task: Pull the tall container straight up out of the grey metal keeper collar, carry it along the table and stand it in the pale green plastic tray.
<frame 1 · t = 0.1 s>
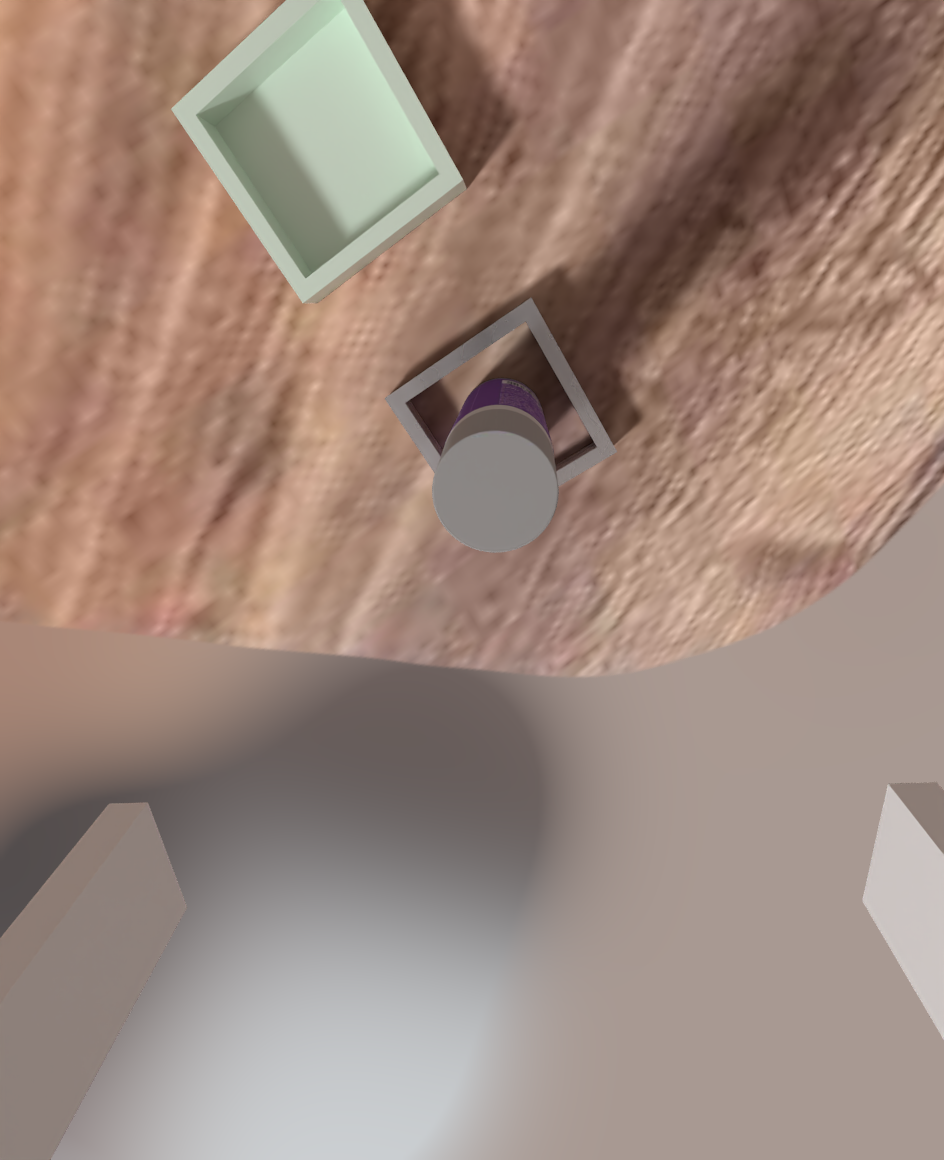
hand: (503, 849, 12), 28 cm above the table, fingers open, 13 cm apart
tray: (332, 156, 31), on the table
container: (502, 419, 36), resting in keeper collar
keeper collar: (501, 420, 36), on the table
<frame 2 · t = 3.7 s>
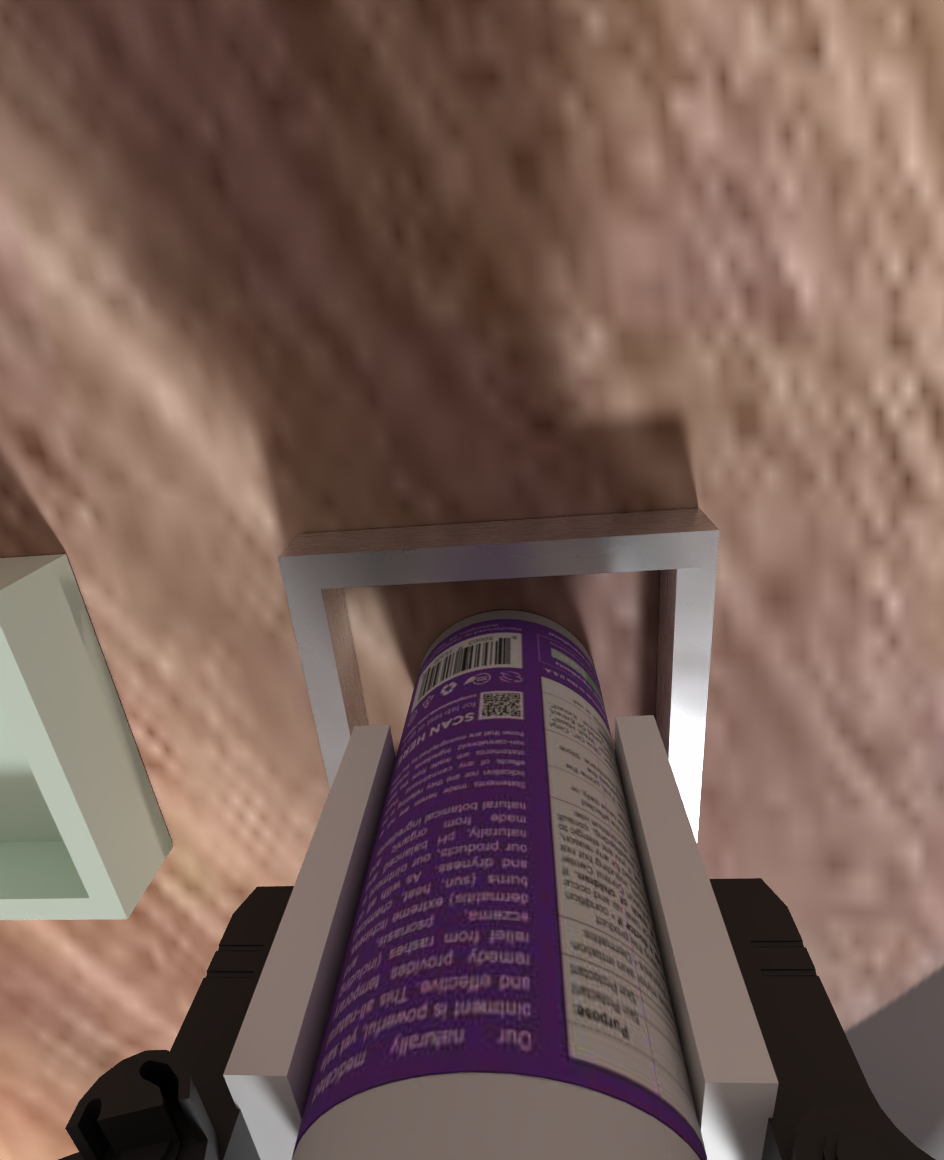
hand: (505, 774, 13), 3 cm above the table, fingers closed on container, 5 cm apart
container: (507, 685, 16), resting in keeper collar, touching gripper
keeper collar: (506, 690, 16), on the table
when the fingers open (5 cm above the table, at t = 9.9 s): container stays where it is, resting on tray.
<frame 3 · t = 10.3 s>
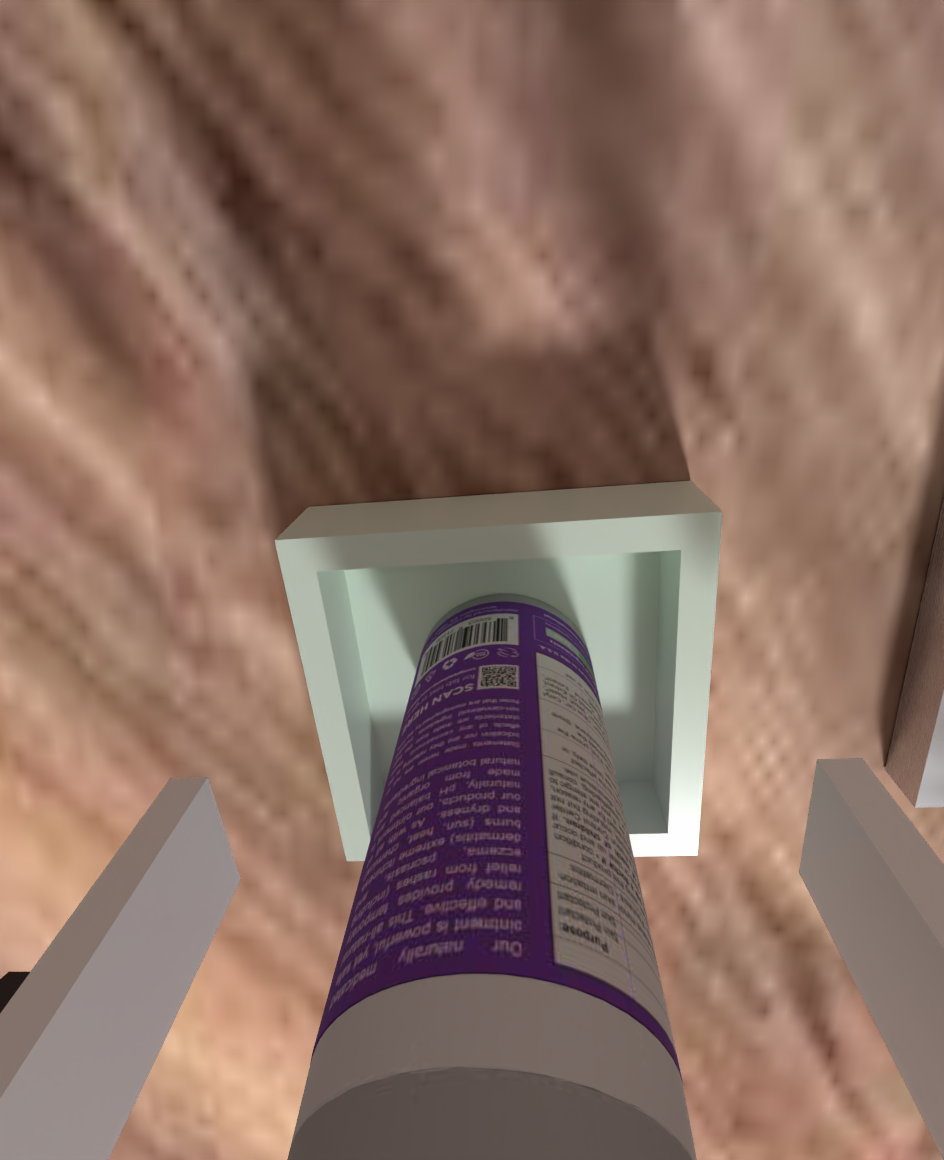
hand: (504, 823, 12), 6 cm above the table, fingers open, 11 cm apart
tray: (507, 659, 18), on the table
container: (505, 666, 17), resting on tray
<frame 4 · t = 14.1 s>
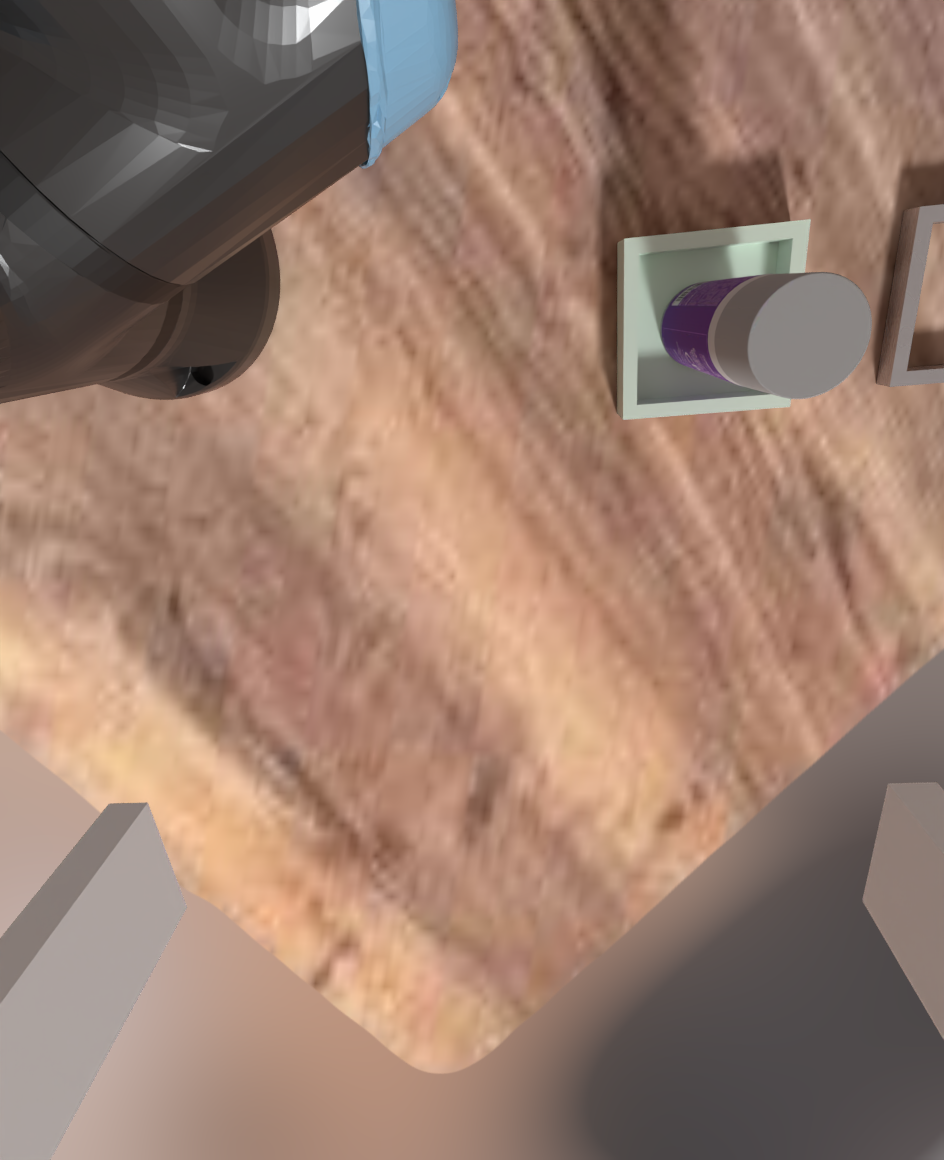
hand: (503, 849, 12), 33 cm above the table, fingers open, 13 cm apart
tray: (698, 324, 38), on the table
container: (699, 325, 37), resting on tray
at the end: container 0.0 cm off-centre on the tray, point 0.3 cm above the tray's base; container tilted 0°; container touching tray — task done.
